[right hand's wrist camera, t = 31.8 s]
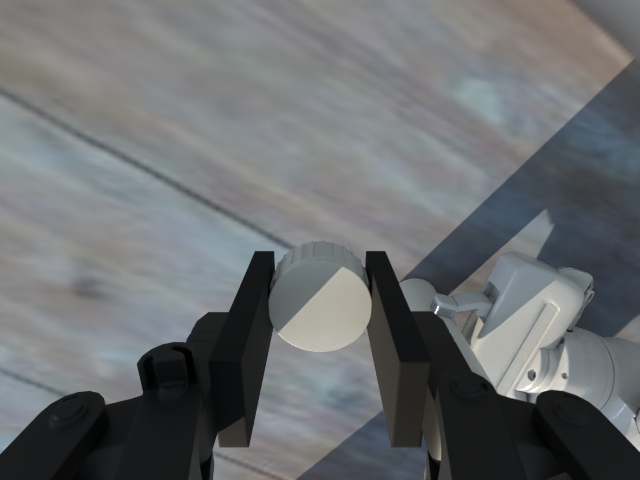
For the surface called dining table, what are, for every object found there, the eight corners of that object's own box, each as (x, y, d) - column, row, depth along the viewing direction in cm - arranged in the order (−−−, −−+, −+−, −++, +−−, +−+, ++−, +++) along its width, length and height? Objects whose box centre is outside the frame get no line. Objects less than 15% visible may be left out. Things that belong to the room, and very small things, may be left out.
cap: (279, 328, 15) (274, 357, 14) (265, 244, 14) (258, 265, 12) (369, 320, 15) (376, 348, 14) (365, 235, 14) (371, 254, 12)
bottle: (428, 271, 40) (538, 445, 20) (442, 309, 42) (557, 505, 22) (382, 288, 41) (443, 473, 21) (397, 326, 43) (468, 528, 23)
